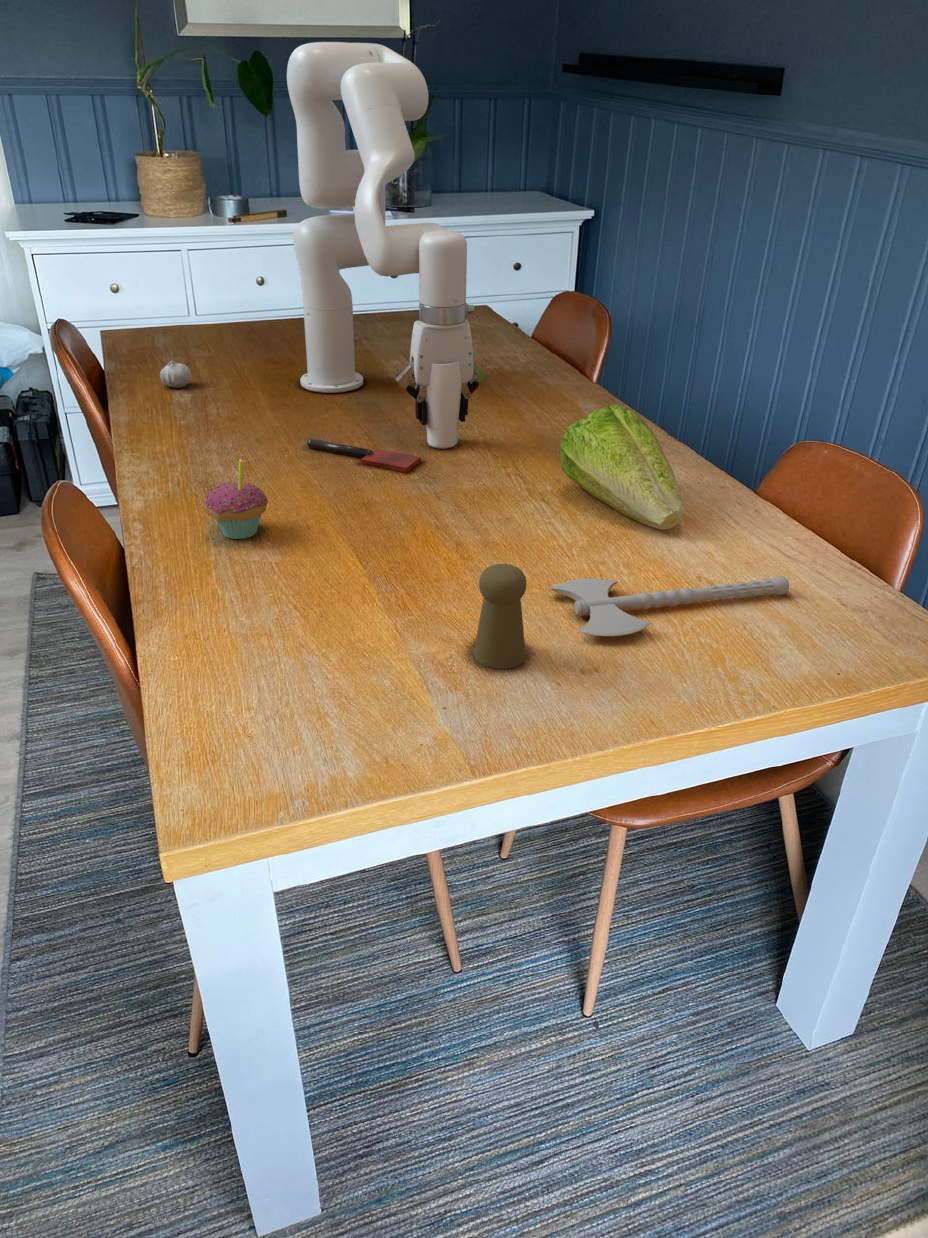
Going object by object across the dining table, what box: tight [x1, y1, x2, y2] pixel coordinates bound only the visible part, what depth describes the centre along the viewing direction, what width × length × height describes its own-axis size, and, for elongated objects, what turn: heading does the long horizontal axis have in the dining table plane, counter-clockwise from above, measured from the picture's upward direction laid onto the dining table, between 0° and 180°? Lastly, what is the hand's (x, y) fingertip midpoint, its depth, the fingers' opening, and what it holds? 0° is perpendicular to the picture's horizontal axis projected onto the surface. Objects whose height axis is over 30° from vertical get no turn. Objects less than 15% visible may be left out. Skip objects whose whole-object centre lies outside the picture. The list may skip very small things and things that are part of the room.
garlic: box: [159, 360, 192, 389], centre depth 188 cm, size 6×5×5 cm
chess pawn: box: [472, 563, 527, 670], centre depth 107 cm, size 6×6×11 cm
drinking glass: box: [425, 361, 462, 450], centre depth 162 cm, size 7×7×15 cm
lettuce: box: [559, 403, 684, 531], centre depth 142 cm, size 14×23×14 cm
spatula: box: [306, 438, 422, 474], centre depth 160 cm, size 20×5×2 cm, turn 66°
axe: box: [549, 575, 790, 637], centre depth 119 cm, size 30×14×2 cm, turn 104°
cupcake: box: [203, 454, 269, 540], centre depth 132 cm, size 9×8×12 cm
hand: (441, 420), depth 163 cm, fingers closed on drinking glass, 6 cm apart
